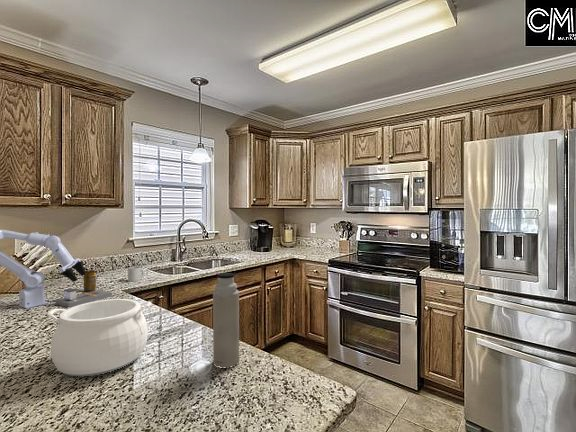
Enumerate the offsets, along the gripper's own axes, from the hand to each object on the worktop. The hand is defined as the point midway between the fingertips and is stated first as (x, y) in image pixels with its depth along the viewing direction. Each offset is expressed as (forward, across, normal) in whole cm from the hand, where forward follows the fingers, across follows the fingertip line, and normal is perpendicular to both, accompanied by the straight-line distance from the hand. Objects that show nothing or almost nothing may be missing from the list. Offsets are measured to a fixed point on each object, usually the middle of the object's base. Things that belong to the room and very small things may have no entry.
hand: (79, 277), depth 166 cm
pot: (+20, -70, -41) cm, 84 cm away
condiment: (+11, +16, +12) cm, 23 cm away
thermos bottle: (+38, -74, -76) cm, 113 cm away
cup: (+23, +40, -1) cm, 47 cm away
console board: (+11, -2, +3) cm, 12 cm away
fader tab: (+6, -8, +5) cm, 11 cm away
